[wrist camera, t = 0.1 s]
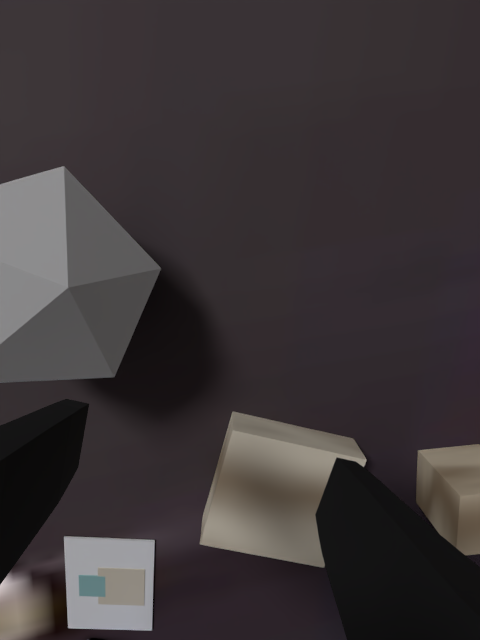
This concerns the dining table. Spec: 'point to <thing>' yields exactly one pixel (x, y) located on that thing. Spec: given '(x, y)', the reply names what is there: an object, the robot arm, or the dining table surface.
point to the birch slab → (272, 488)
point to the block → (451, 494)
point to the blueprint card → (109, 583)
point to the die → (66, 282)
